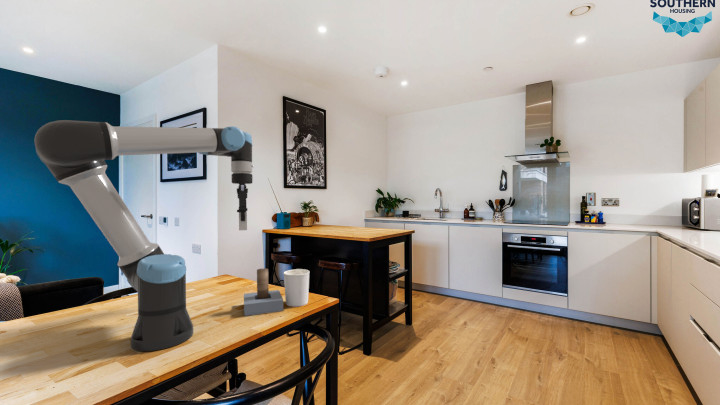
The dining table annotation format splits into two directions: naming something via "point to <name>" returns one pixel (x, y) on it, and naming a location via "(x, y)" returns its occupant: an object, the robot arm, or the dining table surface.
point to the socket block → (262, 303)
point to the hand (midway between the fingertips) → (242, 228)
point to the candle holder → (296, 287)
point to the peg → (262, 284)
